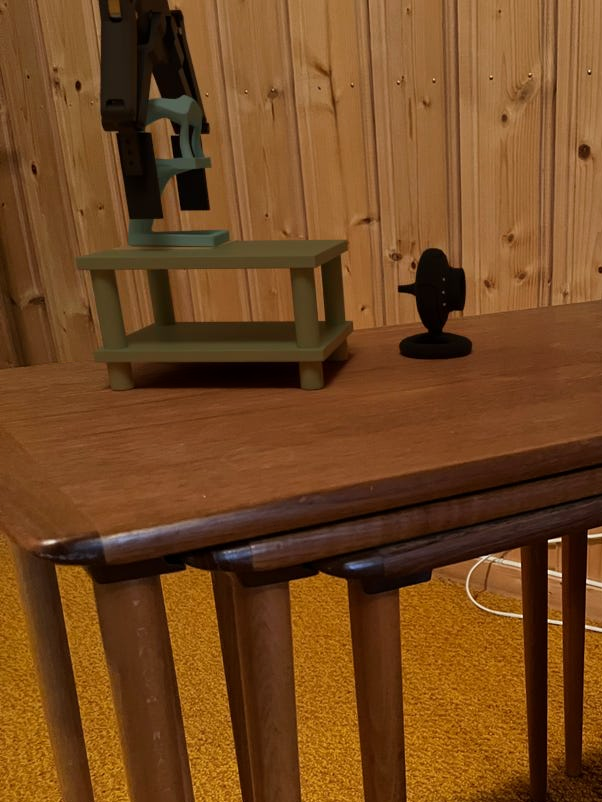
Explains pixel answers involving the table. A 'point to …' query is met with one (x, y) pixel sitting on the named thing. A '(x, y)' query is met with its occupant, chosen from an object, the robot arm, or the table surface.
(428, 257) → the webcam
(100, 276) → the shelf
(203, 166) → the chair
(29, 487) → the table surface
